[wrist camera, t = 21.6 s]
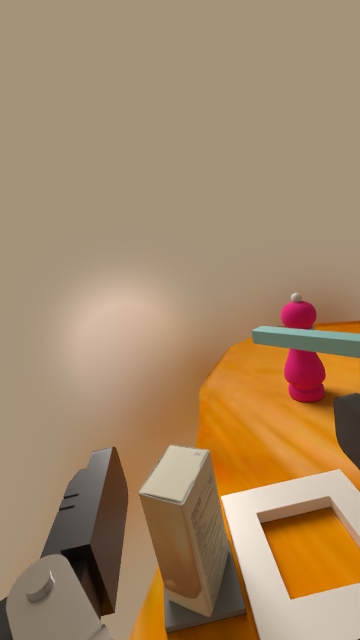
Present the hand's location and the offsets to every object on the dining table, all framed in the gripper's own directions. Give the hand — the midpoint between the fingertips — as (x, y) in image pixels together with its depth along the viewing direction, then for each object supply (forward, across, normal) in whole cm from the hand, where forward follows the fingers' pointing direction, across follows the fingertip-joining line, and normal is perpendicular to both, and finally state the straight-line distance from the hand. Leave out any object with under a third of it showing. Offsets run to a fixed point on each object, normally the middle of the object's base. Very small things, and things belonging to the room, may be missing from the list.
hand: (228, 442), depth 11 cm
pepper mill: (+41, -21, +25) cm, 53 cm away
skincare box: (+12, +4, +24) cm, 27 cm away
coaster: (+13, +4, +24) cm, 27 cm away
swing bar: (+20, -16, +7) cm, 27 cm away
